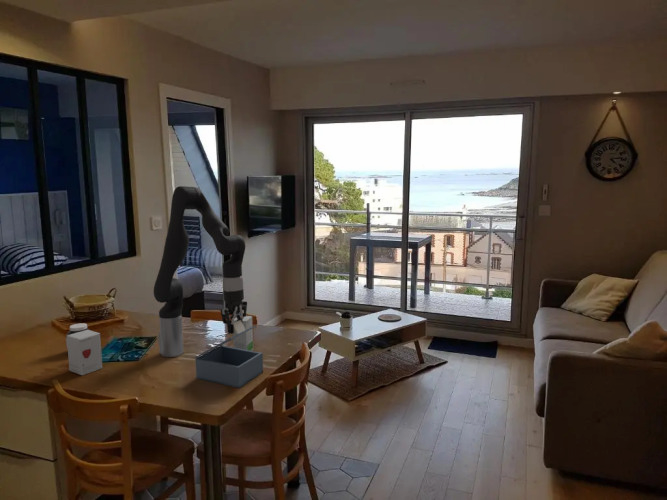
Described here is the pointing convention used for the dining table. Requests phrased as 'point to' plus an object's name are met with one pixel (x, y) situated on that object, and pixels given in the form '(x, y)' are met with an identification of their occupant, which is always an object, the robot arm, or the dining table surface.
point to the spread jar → (76, 329)
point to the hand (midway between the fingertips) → (235, 331)
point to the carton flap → (238, 331)
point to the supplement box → (84, 352)
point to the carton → (229, 366)
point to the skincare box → (245, 335)
